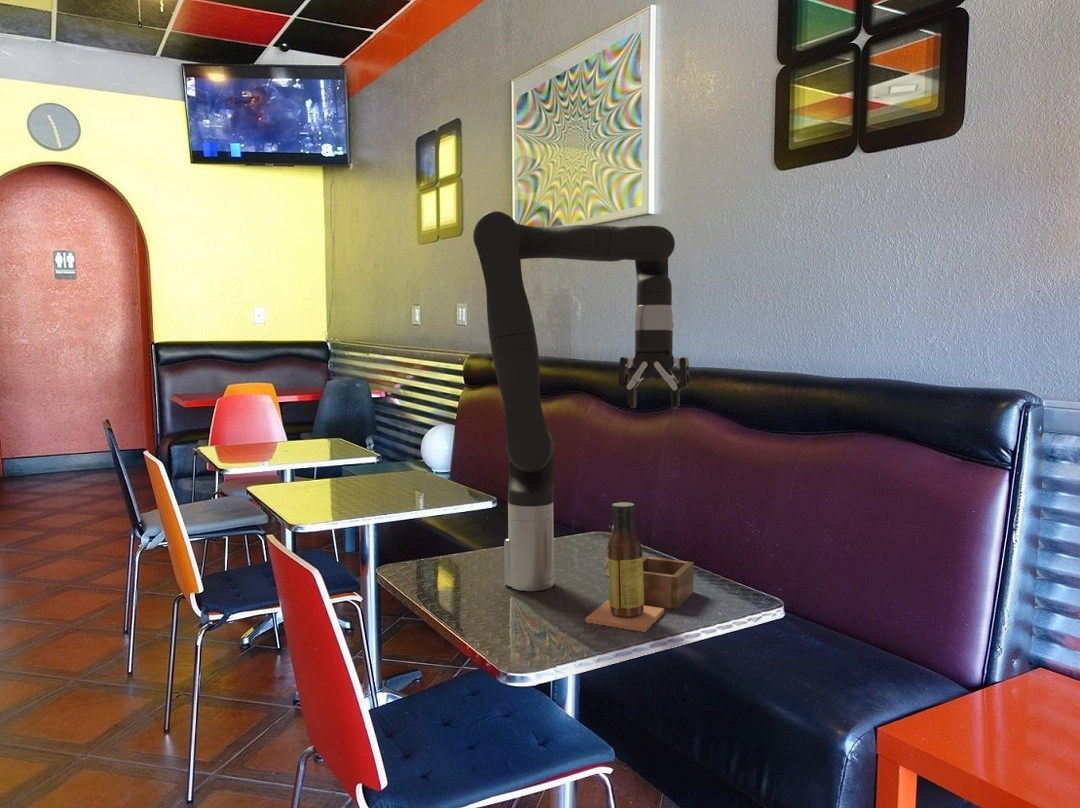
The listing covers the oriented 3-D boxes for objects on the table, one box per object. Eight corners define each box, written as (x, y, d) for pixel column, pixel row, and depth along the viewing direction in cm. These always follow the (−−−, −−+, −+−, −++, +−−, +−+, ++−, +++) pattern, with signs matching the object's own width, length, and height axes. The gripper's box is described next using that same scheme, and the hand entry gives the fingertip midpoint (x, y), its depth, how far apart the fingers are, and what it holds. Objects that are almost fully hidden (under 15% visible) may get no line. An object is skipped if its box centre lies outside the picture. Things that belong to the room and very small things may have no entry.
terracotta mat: (585, 622, 138) (585, 618, 138) (607, 604, 148) (607, 600, 148) (645, 632, 133) (645, 627, 133) (664, 612, 143) (664, 608, 143)
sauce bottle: (649, 610, 142) (649, 502, 140) (635, 621, 136) (636, 508, 135) (616, 605, 145) (616, 499, 144) (601, 615, 140) (602, 505, 138)
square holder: (624, 601, 149) (624, 570, 149) (643, 585, 160) (643, 556, 159) (677, 609, 145) (677, 577, 144) (693, 591, 155) (693, 562, 155)
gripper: (614, 328, 157) (613, 408, 158) (683, 327, 151) (682, 411, 152) (626, 329, 164) (626, 406, 165) (693, 328, 158) (692, 408, 159)
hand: (653, 408), depth 159 cm, fingers open, 8 cm apart
